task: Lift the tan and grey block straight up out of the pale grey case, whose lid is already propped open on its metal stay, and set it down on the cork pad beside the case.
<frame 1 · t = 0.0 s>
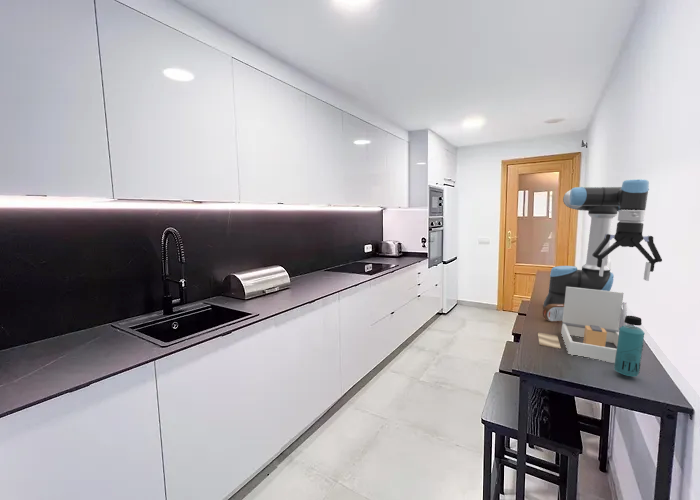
hand: (622, 277, 125), 28 cm above the table, tool pointing down, fingers open, 13 cm apart
tan and grey block: (594, 338, 127), in the equipment case
cork pad: (548, 340, 134), on the table
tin: (557, 321, 158), on the table
beverage bottle: (625, 376, 107), on the table
equipment case: (593, 348, 127), on the table
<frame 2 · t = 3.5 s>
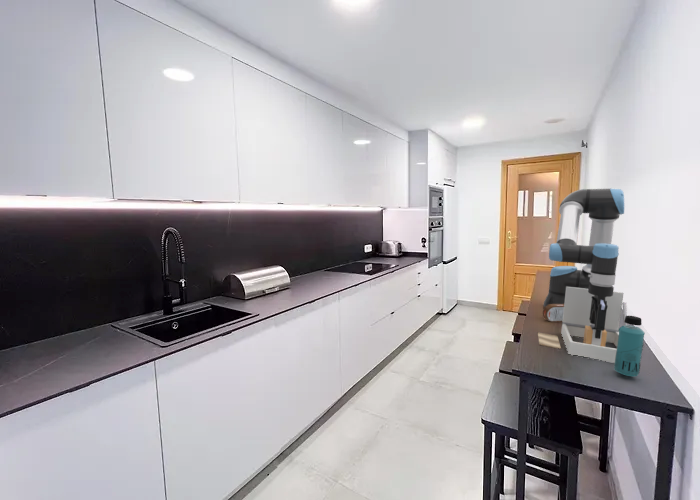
hand: (594, 342, 127), 2 cm above the table, tool pointing down, fingers closed on tan and grey block, 5 cm apart
tan and grey block: (594, 338, 127), in the equipment case, touching gripper
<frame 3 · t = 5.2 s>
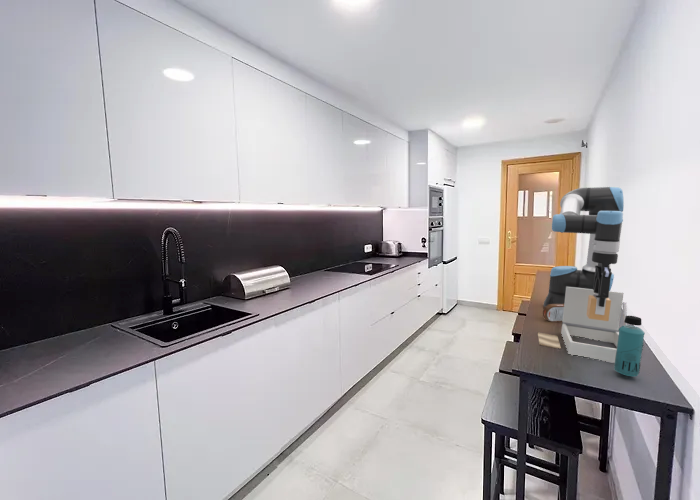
hand: (597, 311, 126), 15 cm above the table, tool pointing down, fingers closed on tan and grey block, 5 cm apart
tan and grey block: (598, 307, 125), point 16 cm above the table, touching gripper
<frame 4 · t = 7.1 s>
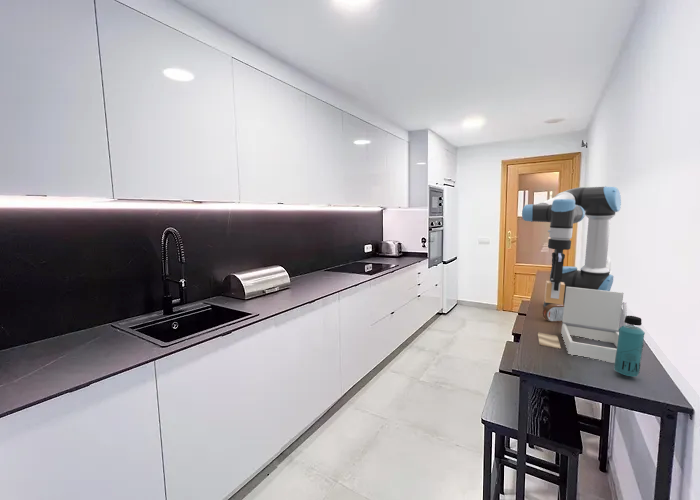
hand: (553, 296, 131), 19 cm above the table, tool pointing down, fingers closed on tan and grey block, 5 cm apart
tan and grey block: (554, 291, 131), point 21 cm above the table, touching gripper
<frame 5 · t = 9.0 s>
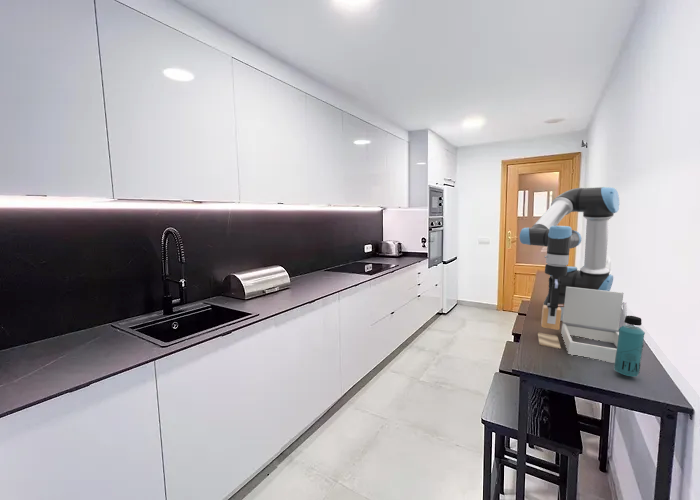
hand: (550, 321, 133), 8 cm above the table, tool pointing down, fingers closed on tan and grey block, 5 cm apart
tan and grey block: (551, 316, 133), point 10 cm above the table, touching gripper
when the fingers open (4 cm above the table, at t = 10.6 s): tan and grey block drops 1 cm, resting on cork pad.
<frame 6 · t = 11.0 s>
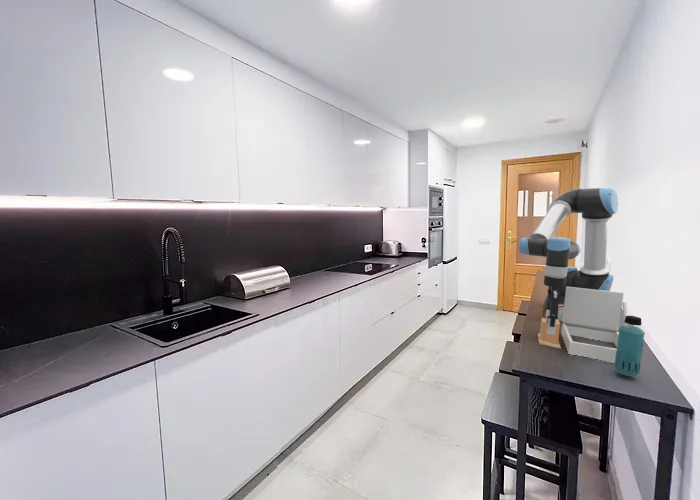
hand: (549, 329, 133), 5 cm above the table, tool pointing down, fingers open, 10 cm apart
tan and grey block: (549, 329, 133), on the cork pad
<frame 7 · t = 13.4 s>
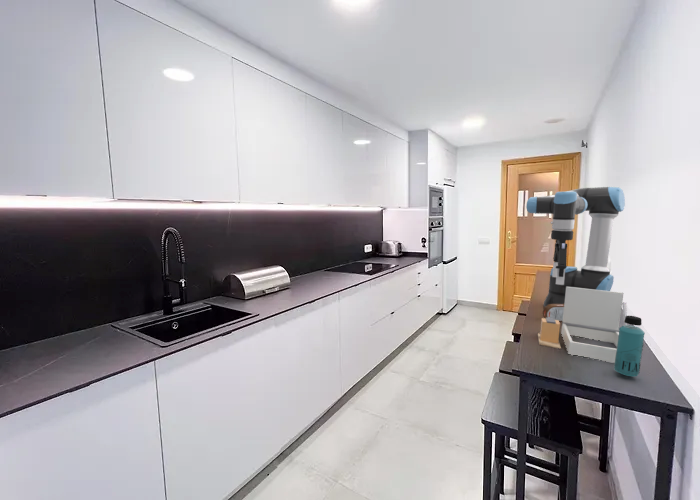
hand: (557, 280, 137), 24 cm above the table, tool pointing down, fingers open, 13 cm apart
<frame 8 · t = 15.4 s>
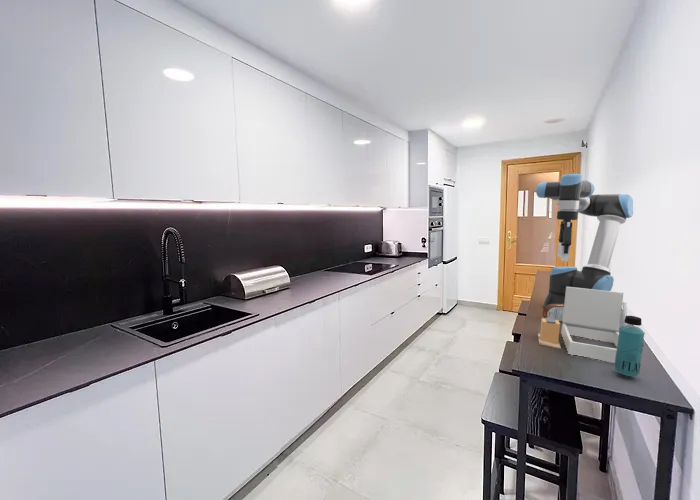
hand: (562, 259, 145), 32 cm above the table, tool pointing down, fingers open, 13 cm apart
at the end: tan and grey block inside the target area (0.0 cm from its centre), resting on cork pad; tan and grey block tilted 0°; the gripper is holding nothing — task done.
